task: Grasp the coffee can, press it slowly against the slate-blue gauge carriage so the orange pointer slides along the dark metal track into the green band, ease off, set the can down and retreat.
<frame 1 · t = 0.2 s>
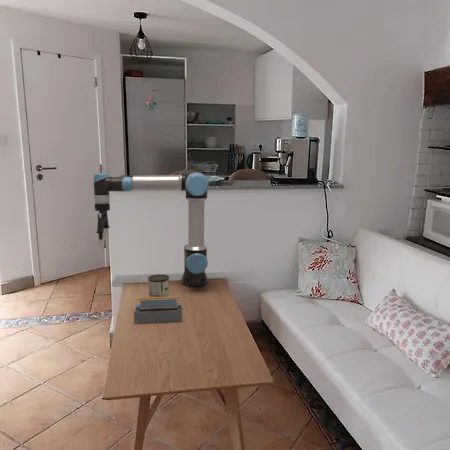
hand: (103, 242, 227), 28 cm above the table, fingers open, 13 cm apart
coffee can: (159, 304, 216), on the table
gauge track: (158, 315, 201), on the table
carriage: (158, 302, 207), point 4 cm above the table, slide at 0.0 cm
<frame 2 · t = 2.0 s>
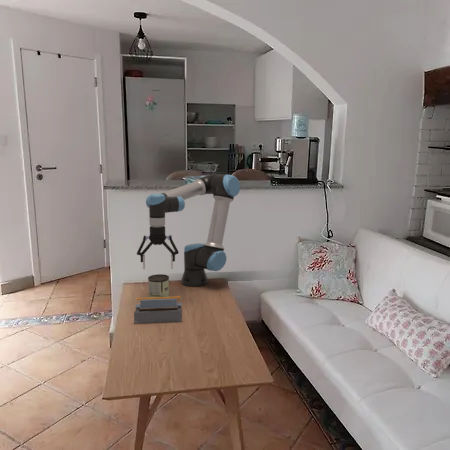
hand: (158, 268, 213), 19 cm above the table, fingers open, 13 cm apart
nothing on the table moved.
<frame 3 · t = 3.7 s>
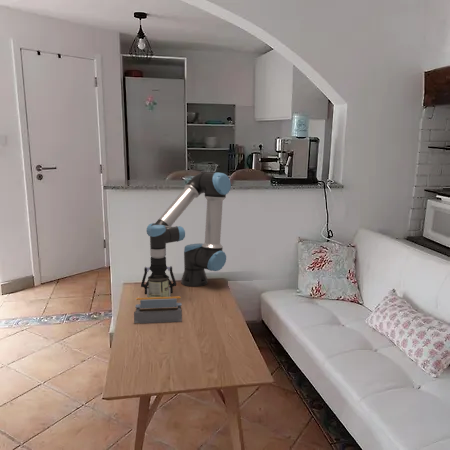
hand: (159, 299, 215), 2 cm above the table, fingers closed on coffee can, 10 cm apart
coffee can: (159, 304, 216), on the table, touching gripper
everything else where it was.
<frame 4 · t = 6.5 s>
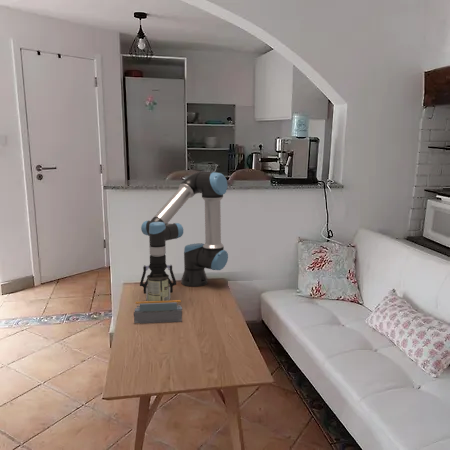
hand: (158, 299, 208), 5 cm above the table, fingers closed on coffee can, 10 cm apart
coffee can: (158, 304, 208), point 2 cm above the table, touching carriage, gripper
carriage: (158, 306, 202), point 4 cm above the table, slide at 5.4 cm, touching coffee can
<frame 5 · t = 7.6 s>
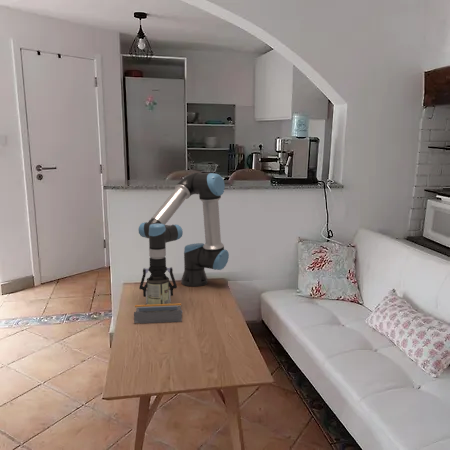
hand: (158, 302, 204), 5 cm above the table, fingers closed on coffee can, 10 cm apart
coffee can: (158, 307, 204), point 2 cm above the table, touching gripper
carriage: (158, 309, 197), point 4 cm above the table, slide at 9.9 cm
when the fingers open (3 cm above the table, at t = 9.5 s): coffee can stays where it is, on the table.
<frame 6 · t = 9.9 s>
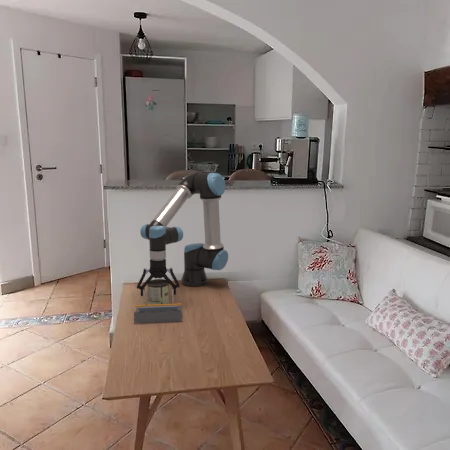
hand: (158, 301, 207), 4 cm above the table, fingers open, 13 cm apart
coffee can: (158, 310, 207), on the table
everything else where it was.
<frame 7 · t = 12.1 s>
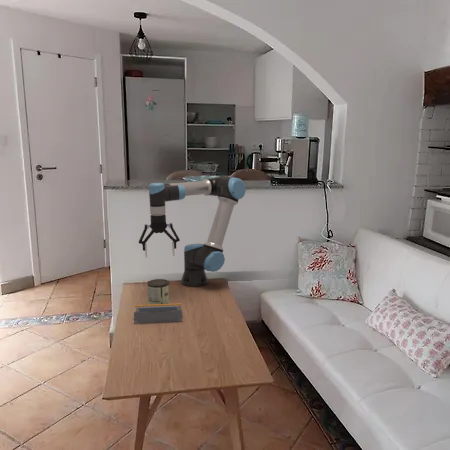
hand: (160, 256, 217), 24 cm above the table, fingers open, 13 cm apart
nothing on the table moved.
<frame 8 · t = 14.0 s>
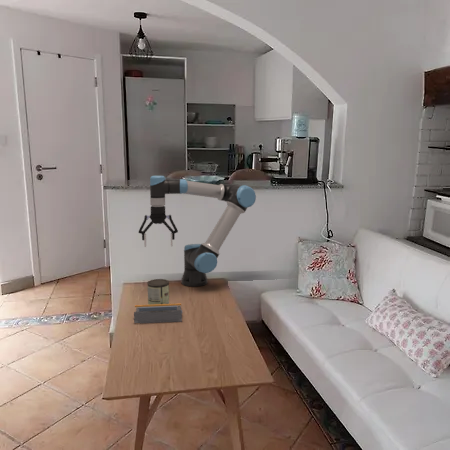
hand: (158, 246, 225), 27 cm above the table, fingers open, 13 cm apart
nothing on the table moved.
at the end: carriage slide at 10.0 cm; the gripper is holding nothing; coffee can tilted 0° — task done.
